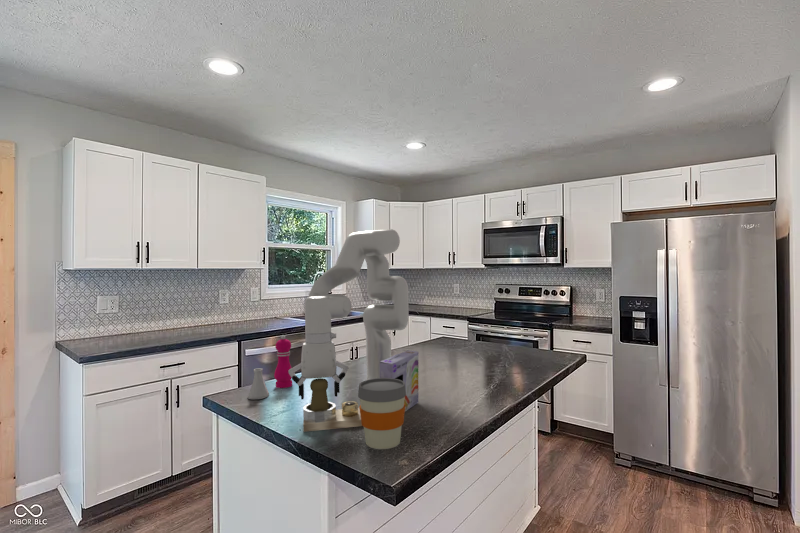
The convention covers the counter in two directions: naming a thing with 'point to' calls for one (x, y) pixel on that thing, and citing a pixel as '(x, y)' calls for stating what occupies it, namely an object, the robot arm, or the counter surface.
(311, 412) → the wide steel collar
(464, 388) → the counter surface
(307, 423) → the fitting board
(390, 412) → the reusable coffee cup
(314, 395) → the cork
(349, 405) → the narrow brass collar
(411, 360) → the cake pan box
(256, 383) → the flask
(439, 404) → the counter surface
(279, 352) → the pepper mill
